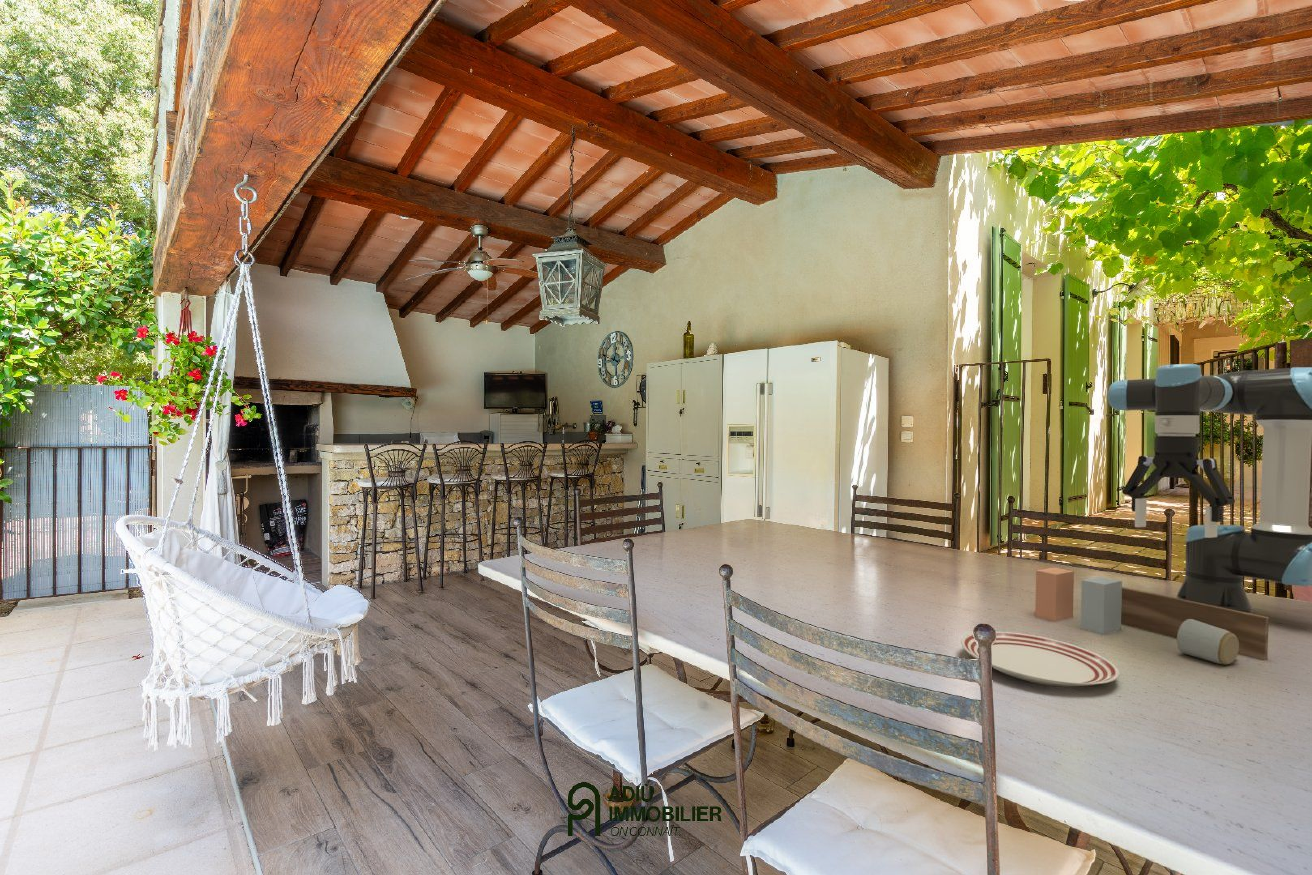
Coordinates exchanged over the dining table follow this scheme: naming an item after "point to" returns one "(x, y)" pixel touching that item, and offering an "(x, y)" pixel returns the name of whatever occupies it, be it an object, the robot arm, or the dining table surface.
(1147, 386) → the robot arm
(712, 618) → the dining table surface
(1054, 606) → the tan rectangular block
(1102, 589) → the light grey rectangular block
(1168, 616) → the brown wooden board
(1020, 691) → the dining table surface
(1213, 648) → the ceramic mug
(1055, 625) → the dining table surface
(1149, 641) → the dining table surface
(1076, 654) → the dinner plate
